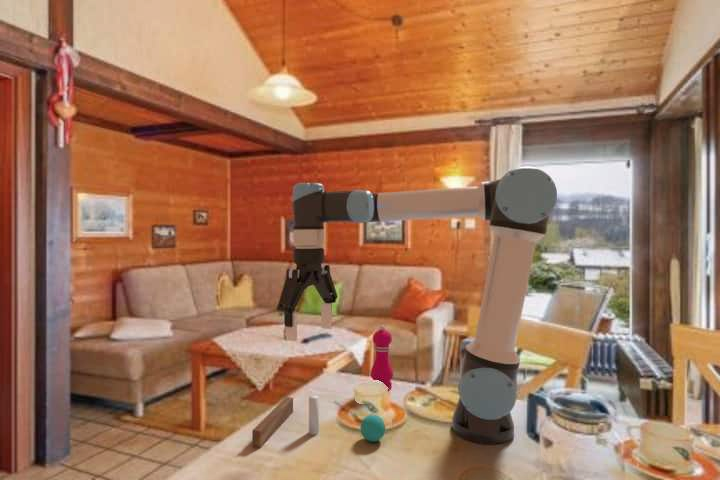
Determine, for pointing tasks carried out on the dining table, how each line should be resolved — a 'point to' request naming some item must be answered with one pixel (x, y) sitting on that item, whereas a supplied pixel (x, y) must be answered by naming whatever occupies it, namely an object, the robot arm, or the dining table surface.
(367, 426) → the ball
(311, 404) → the pin
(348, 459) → the dining table surface
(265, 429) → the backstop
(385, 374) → the pepper mill
